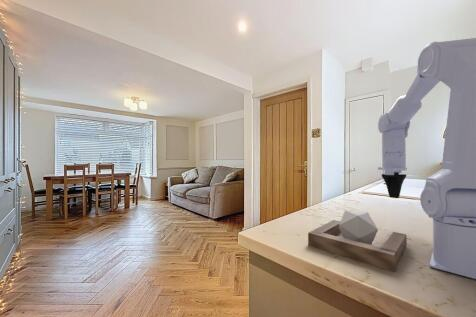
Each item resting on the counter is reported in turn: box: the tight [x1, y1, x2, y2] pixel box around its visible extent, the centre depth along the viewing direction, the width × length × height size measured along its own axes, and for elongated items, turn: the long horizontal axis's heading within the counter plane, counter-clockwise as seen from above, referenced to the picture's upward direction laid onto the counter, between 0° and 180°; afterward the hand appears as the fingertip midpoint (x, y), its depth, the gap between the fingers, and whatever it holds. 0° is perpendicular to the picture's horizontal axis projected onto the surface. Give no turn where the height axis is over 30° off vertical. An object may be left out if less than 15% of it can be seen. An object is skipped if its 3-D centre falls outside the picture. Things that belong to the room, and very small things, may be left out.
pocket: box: [307, 219, 408, 272], centre depth 50 cm, size 17×16×3 cm
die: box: [339, 210, 379, 245], centre depth 51 cm, size 8×9×10 cm
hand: (394, 197), depth 63 cm, fingers closed
